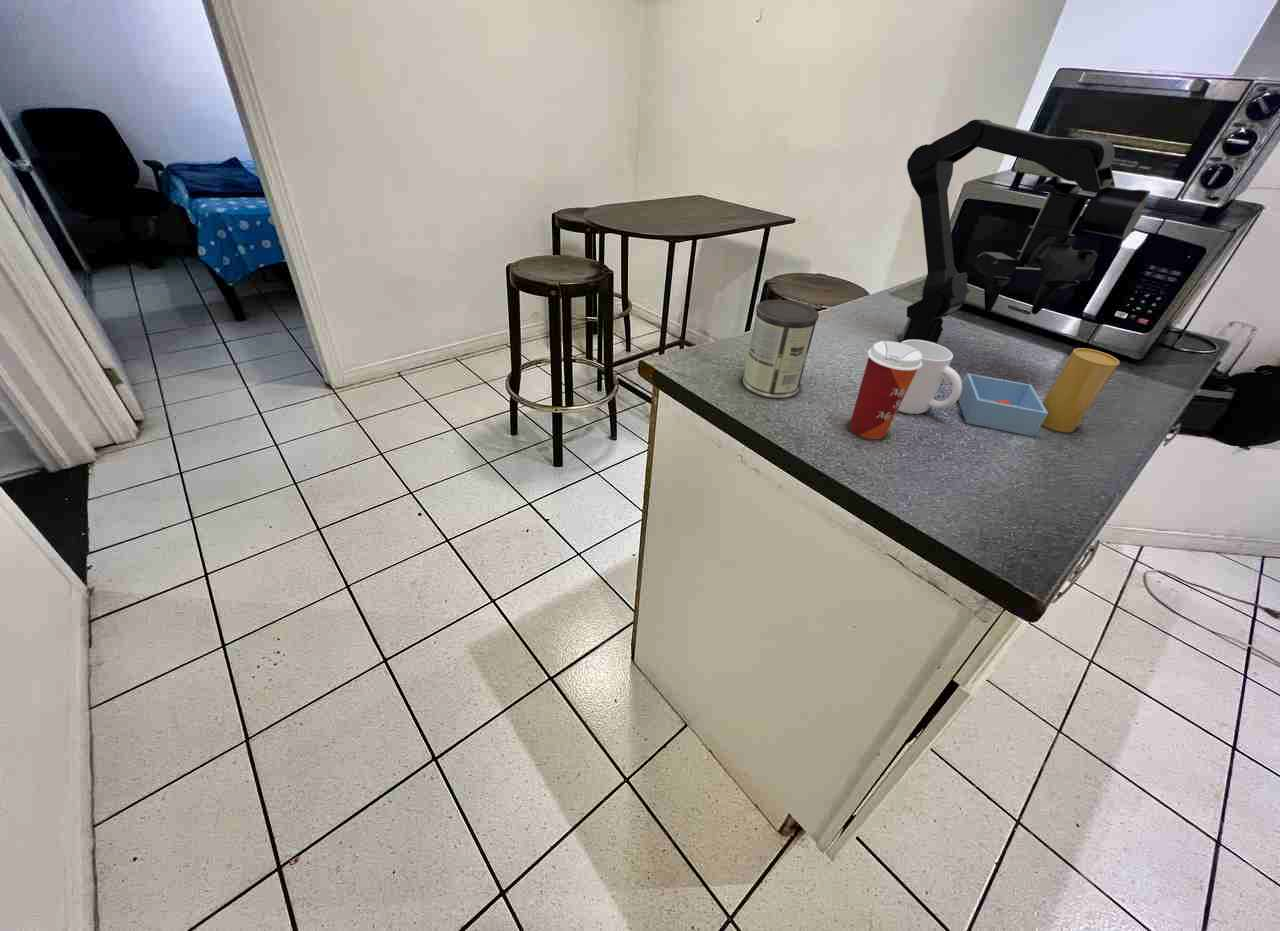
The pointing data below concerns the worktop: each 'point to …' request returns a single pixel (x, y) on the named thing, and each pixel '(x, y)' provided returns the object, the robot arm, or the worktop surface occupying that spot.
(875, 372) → the paper cup
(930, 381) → the mug
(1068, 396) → the tall tapered cup
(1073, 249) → the robot arm
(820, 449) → the worktop surface
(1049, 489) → the worktop surface
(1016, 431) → the bin
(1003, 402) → the toy ball
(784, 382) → the coffee can
